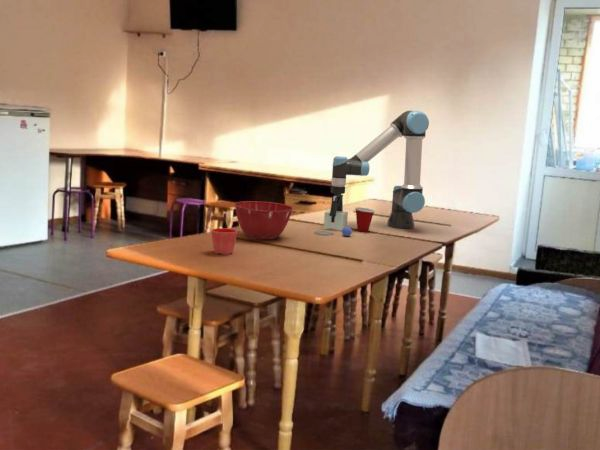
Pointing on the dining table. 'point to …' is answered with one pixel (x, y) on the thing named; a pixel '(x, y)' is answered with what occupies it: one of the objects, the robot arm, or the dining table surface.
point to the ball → (346, 231)
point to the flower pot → (224, 240)
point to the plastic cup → (364, 218)
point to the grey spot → (323, 233)
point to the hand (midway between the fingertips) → (335, 226)
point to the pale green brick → (340, 220)
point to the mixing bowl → (262, 218)
